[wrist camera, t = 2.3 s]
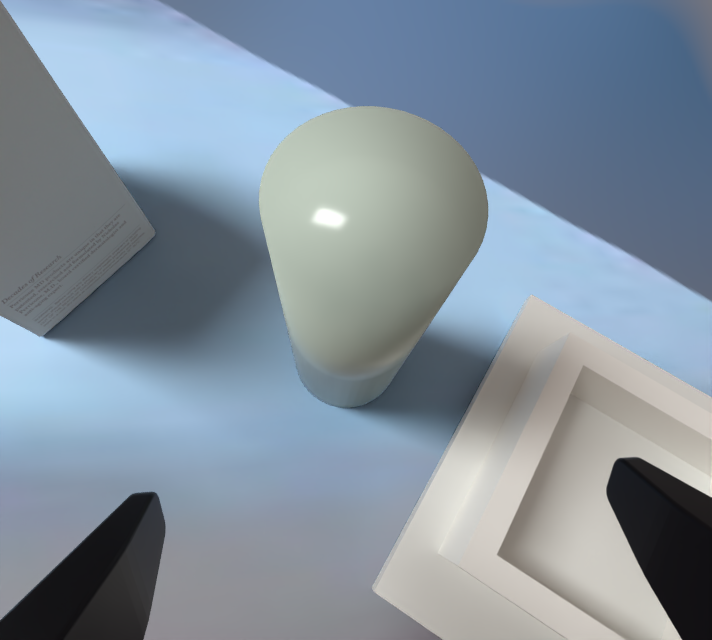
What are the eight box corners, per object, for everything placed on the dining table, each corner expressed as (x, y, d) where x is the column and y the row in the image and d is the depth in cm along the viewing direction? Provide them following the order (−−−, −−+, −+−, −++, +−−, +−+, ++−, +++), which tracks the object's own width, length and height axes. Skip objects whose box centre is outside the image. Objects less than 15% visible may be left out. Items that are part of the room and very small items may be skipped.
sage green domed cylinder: (415, 377, 22) (533, 242, 10) (325, 426, 21) (327, 346, 9) (365, 293, 23) (413, 79, 11) (278, 336, 22) (220, 153, 10)
